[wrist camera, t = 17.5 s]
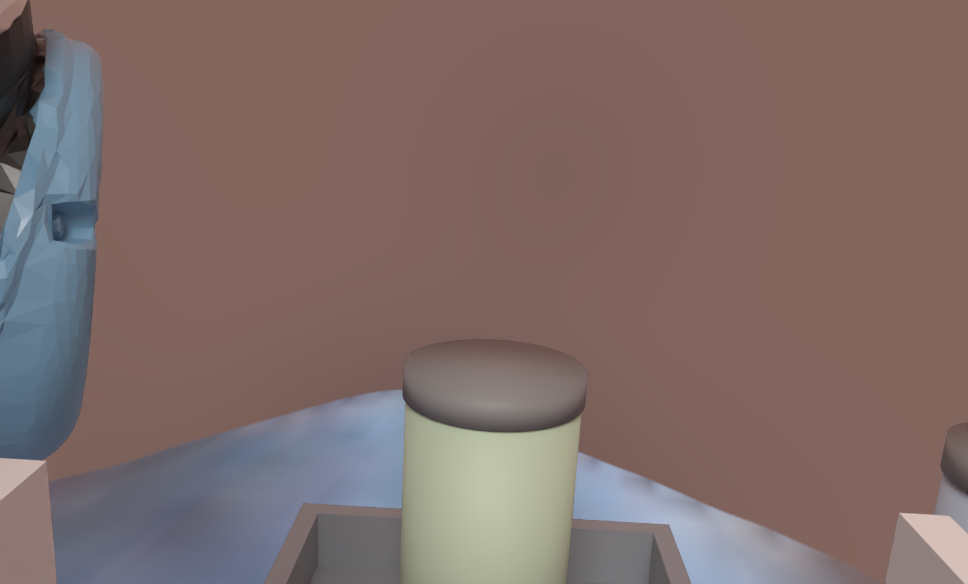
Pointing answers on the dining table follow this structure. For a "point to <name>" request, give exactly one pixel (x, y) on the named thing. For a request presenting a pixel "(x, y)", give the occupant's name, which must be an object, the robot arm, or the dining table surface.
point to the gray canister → (955, 477)
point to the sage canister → (489, 462)
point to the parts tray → (377, 547)
